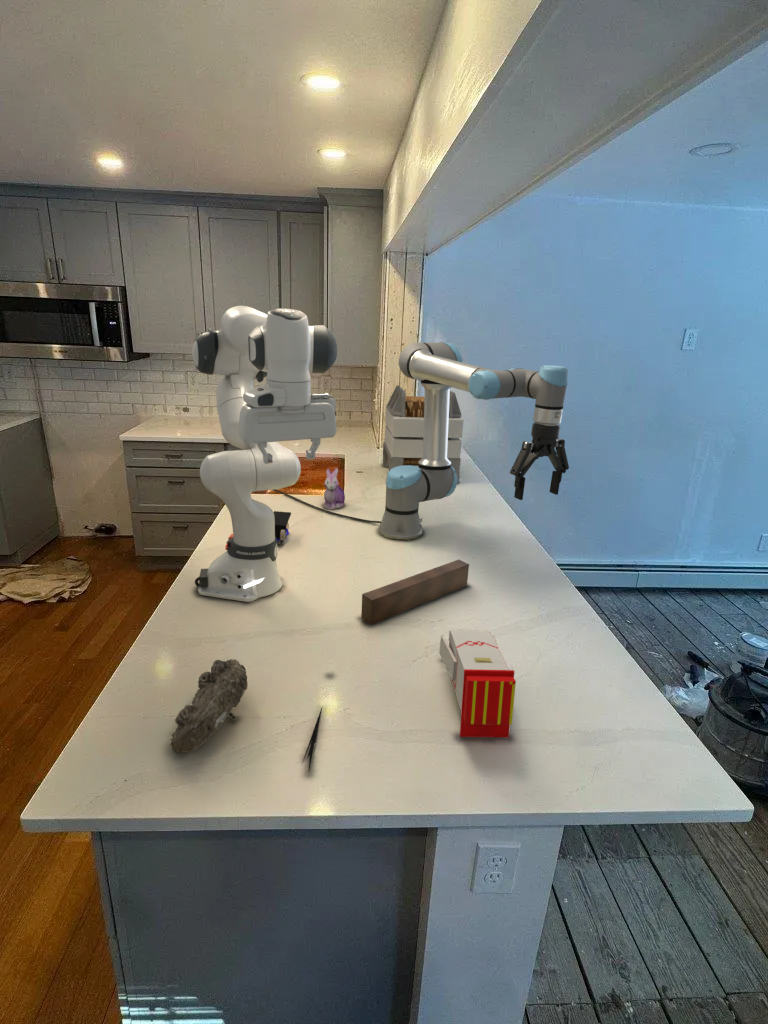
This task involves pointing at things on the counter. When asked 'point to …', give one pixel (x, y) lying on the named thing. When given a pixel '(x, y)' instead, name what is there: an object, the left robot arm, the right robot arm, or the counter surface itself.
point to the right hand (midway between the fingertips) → (536, 496)
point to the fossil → (210, 704)
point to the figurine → (333, 491)
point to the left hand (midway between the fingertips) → (289, 460)
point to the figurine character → (281, 525)
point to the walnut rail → (413, 591)
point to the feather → (313, 740)
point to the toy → (479, 682)
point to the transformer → (416, 431)
